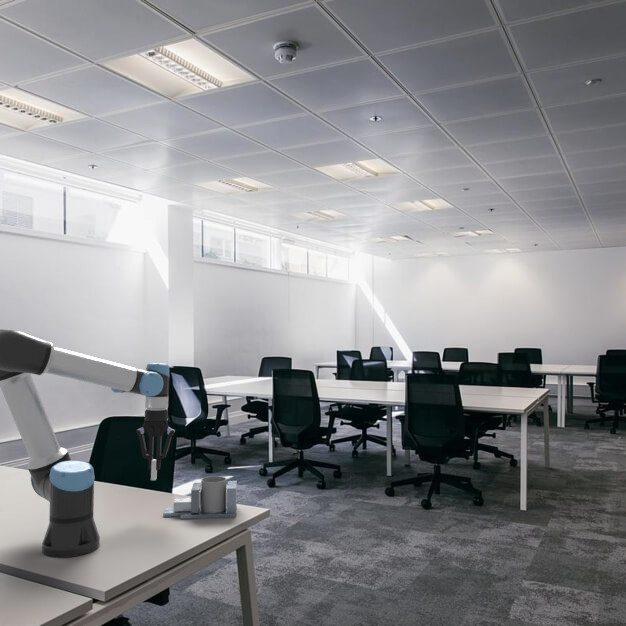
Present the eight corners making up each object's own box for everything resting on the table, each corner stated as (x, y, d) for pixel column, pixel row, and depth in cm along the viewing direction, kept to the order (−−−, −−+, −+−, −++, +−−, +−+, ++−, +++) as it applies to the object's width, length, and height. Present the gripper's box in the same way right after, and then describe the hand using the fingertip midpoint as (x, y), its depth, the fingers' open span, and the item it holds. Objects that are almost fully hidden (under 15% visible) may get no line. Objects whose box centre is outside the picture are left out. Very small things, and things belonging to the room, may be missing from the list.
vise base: (235, 517, 195) (236, 489, 196) (161, 519, 193) (162, 491, 193) (236, 506, 207) (236, 480, 208) (166, 508, 205) (167, 482, 205)
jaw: (199, 512, 195) (200, 490, 195) (172, 513, 194) (172, 490, 194) (202, 504, 205) (202, 482, 205) (176, 504, 204) (176, 483, 204)
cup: (222, 513, 196) (222, 482, 196) (198, 512, 197) (198, 482, 197) (228, 505, 204) (228, 476, 205) (205, 504, 205) (205, 475, 205)
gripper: (177, 407, 204) (174, 476, 203) (138, 407, 203) (135, 476, 201) (174, 410, 197) (172, 482, 195) (134, 409, 195) (131, 482, 194)
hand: (153, 479), depth 198 cm, fingers closed
